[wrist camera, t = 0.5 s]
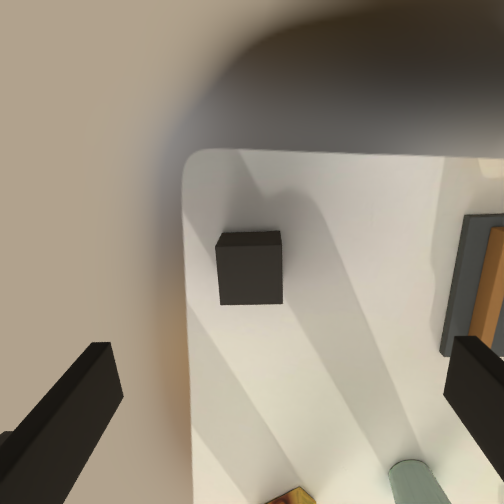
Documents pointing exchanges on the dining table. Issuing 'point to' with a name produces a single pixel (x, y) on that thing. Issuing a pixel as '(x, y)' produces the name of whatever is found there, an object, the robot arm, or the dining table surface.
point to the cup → (415, 484)
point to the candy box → (294, 498)
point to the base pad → (478, 285)
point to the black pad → (250, 268)
